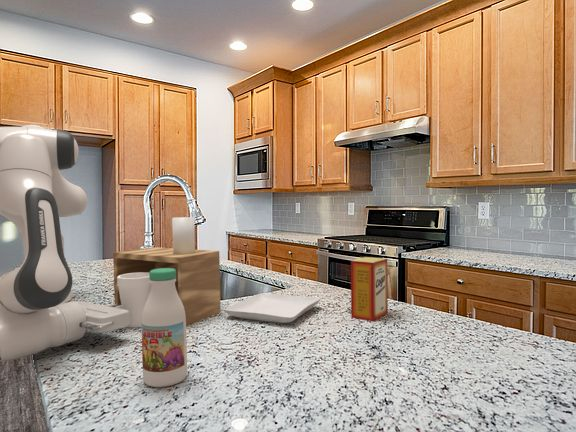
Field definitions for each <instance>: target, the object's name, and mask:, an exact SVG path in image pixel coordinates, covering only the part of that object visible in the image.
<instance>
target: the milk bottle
mask: <svg viewBox="0 0 576 432" xmlns="http://www.w3.org/2000/svg"><path fill="white" fill-rule="evenodd" d="M149 277H150V283H151V290H150V294H149V297H148V300H147V302H146V304H145V307H144V310H143V314H142V327H141V355H142V356H141V357H142V381H143V382H144V384H145V385H146V386H148V387H153V388H165V387H171V386H174V385H176V384H179V383H181V382H182V381H184V380H185V379H186V377H187V374H188V349H187V348H188V347H187V343H188V342H187V326H186V317H185V310H184V306H183V304H182V301H181V299H180V298H179V296H178V293H177V290H176V287H175V281H176V270H175V269H173V268H160V269H154V270H151V271H150V273H149Z"/></svg>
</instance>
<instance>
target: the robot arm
mask: <svg viewBox="0 0 576 432" xmlns="http://www.w3.org/2000/svg"><path fill="white" fill-rule="evenodd" d="M79 151H80V150H79V145H78V142H77V140H76V138H75V136H74V135H73V134H72V133H71V132H69V131H66V130H63V129H57V130H56V129H52V128H51V129H50V128H45V127H44V126H41V125H38V124H26V125H23V126H0V215H1V216H2V217H4V218H6V219H7V220H9V221H10V222H12V223H13V225H14V226H15V227H16V228H17V229H18V231H19V233H20V235H21V239H22V243H23V252H24V260H23V262H22V263H21V265H20V266H19V267H17V268H15V269H13V270H11V271H8V272H6V273H5V274H3V275H2V274H1V275H0V362H10V361H13V360H19V359H22V358H26V357H29V356H32V355H35V354H39V353H40V352H42V351H43V350H45V349H47V348H53V347H55V348H57V347H60V346H62V345H63V346H64V345H66V344H69V343H72V342H76V341H78V340H81V339H82V338H83V337H84V336H85V334H86V332H87V331H91V332H95V333H108V332H112V331H115V330H120V329H122V328H127V327H126V326H128V325H129V324H130V311H129V310H125V306H124V305H119V304H115V303H114V304H109V305H107V304H106V305H102V304H98V303H92V302H87V301H81V300H78V301H77V300H76V301H73V300H72V299H73V298H75V297H76V294H75V293H74V292H73V291H72V288H73V275H72V271H71V269H70V266H69V264H68V262H67V260H66V259H67V258H66V257H65V244H64V243H65V242H64V237H63V234H62V231H61V223H60V218H69V217H73V216H78V215H79V216H80V215H81V214H82V213H83V212H84V211H85V210H86V208H87V205H88V196H87V194H86V192H85V190H84V189H83V188H82V187H81V186H79V185H76V184H74V183H72V182H70V181H68V180H67V179H66V177H64V176H63V174H62V173H61V170H68V169H72V168H73V167H74V166H75V165H76V162H77V160H78V158H79Z"/></svg>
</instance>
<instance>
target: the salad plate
mask: <svg viewBox="0 0 576 432" xmlns="http://www.w3.org/2000/svg"><path fill="white" fill-rule="evenodd" d="M321 300H322V299H321V297H313V296H305V295H304V296H301V295H294V294H293V295H292V294H280V293H279V294H277V293H276V294H275V293H262V292H261V293H257V294H255V295H253V296H250V297H248V298H245V299H243V300H241V301H239V302H237V303H234V304H232V305H230V306H228V307H227V308H225V309H224V311H225V312H226V313H227V314H229V315H230V316H232V317H235V318H239V319H244V320H245V319H246V320H250V321H251V320H252V321H259V322H266V323H267V322H268V323H273V324H274V323H275V324H288V323H292V322H294V321H295V320H296V319H297V318H299V317H300V316H302V315H303V314H305V313H306V312H308V311H309V310H311V309H312V308H314V307H315V306H317V305H318V304H319V302H320V301H321Z"/></svg>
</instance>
